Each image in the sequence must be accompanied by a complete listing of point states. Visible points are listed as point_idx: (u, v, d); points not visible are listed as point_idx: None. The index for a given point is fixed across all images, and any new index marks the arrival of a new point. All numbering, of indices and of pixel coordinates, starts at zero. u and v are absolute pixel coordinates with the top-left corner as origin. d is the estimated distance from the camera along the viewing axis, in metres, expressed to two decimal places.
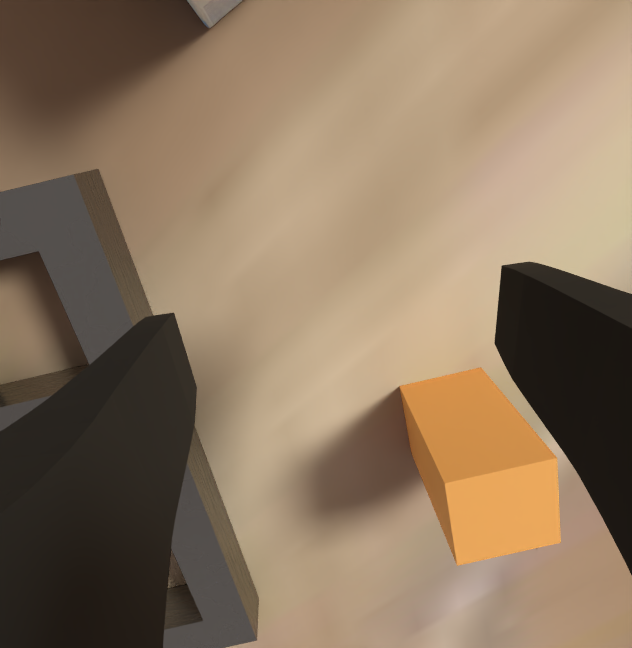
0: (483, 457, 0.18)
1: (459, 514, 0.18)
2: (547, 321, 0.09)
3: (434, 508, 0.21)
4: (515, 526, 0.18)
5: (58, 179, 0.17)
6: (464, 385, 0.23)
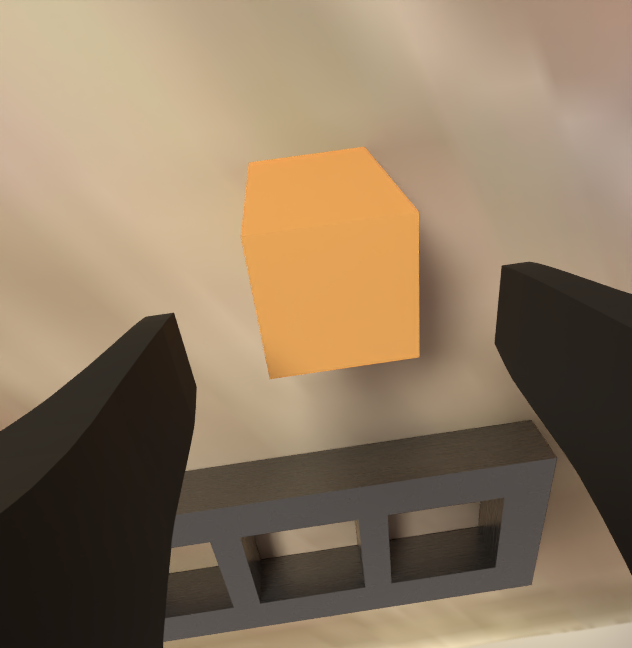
0: None
1: (325, 359, 0.13)
2: (547, 321, 0.09)
3: None
4: (365, 286, 0.12)
5: None
6: None
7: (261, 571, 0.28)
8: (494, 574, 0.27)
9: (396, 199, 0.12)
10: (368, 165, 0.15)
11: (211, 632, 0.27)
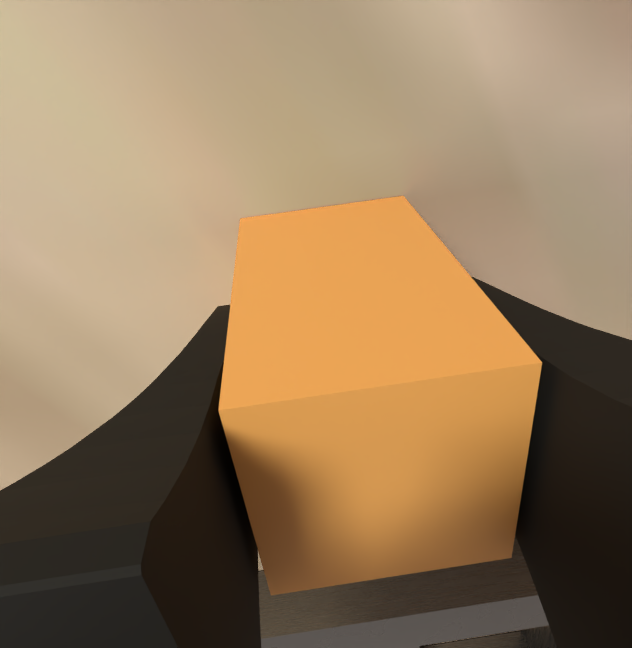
0: None
1: (362, 567, 0.08)
2: None
3: None
4: (436, 472, 0.07)
5: None
6: None
7: None
8: None
9: (487, 321, 0.07)
10: (418, 234, 0.10)
11: None
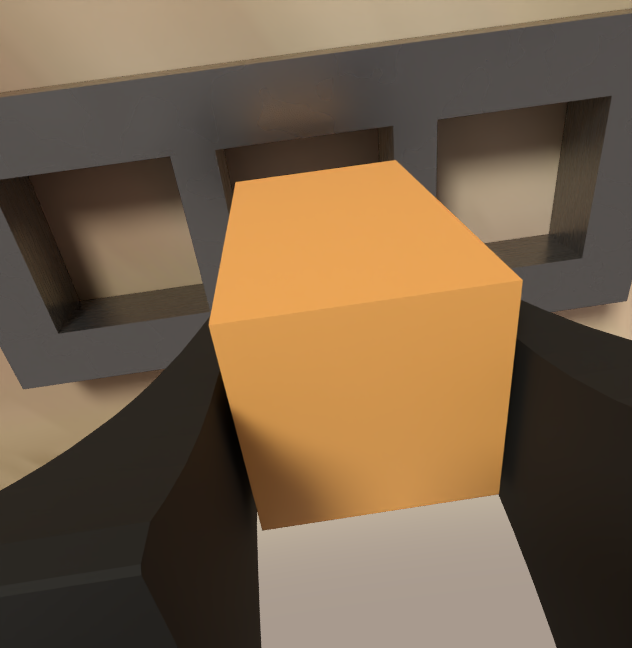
0: None
1: (351, 501, 0.08)
2: None
3: None
4: (421, 398, 0.07)
5: None
6: None
7: None
8: (579, 273, 0.19)
9: (472, 252, 0.07)
10: (408, 188, 0.10)
11: None
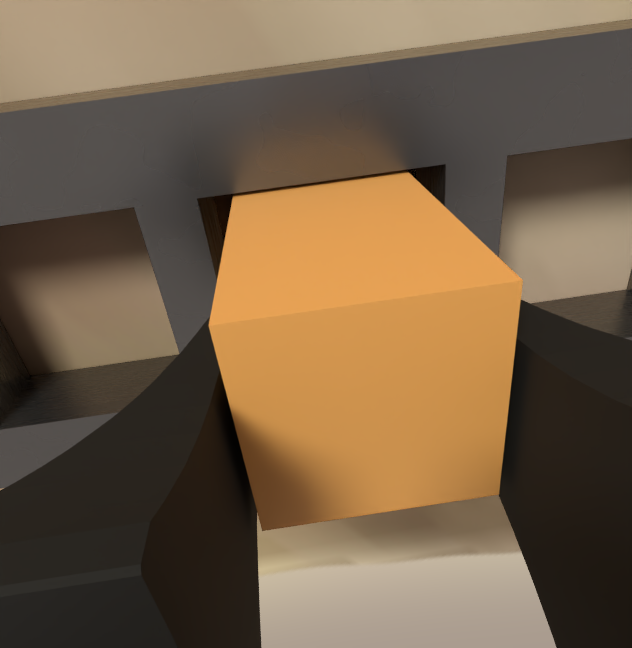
0: None
1: (352, 501, 0.08)
2: None
3: None
4: (421, 398, 0.07)
5: None
6: None
7: None
8: None
9: (472, 252, 0.07)
10: (408, 188, 0.10)
11: None
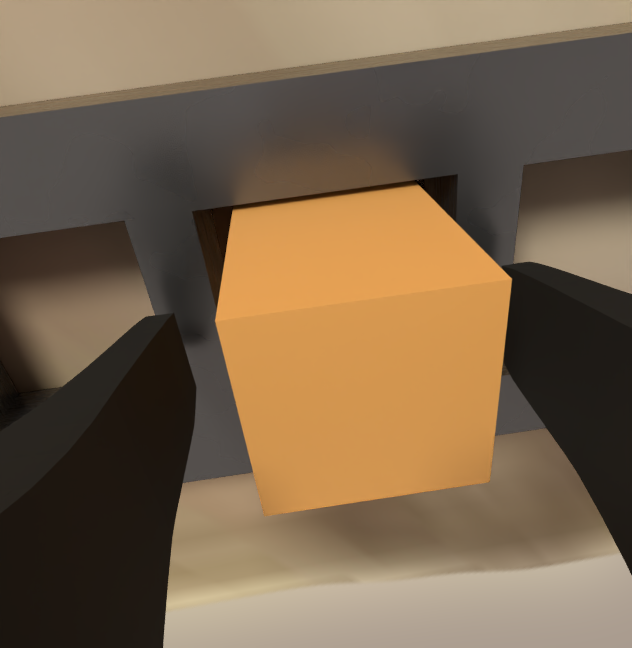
0: None
1: (349, 488, 0.08)
2: (547, 321, 0.09)
3: None
4: (416, 389, 0.07)
5: None
6: None
7: None
8: None
9: (465, 251, 0.08)
10: (405, 188, 0.10)
11: None
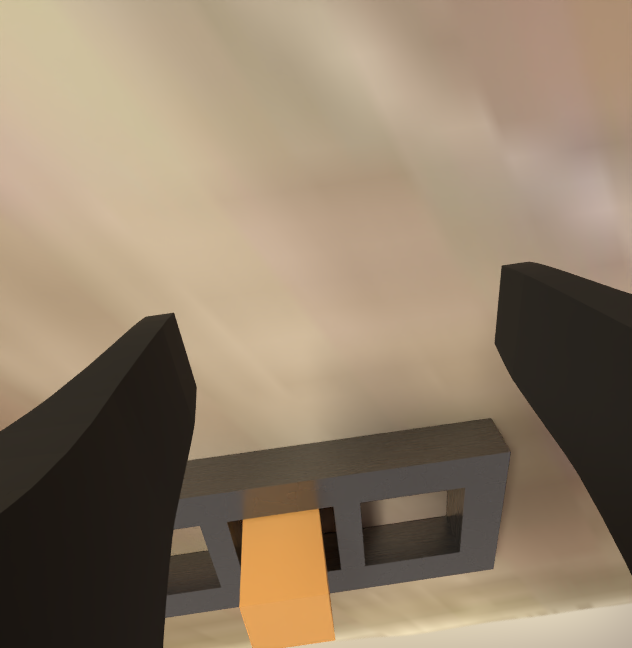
0: None
1: (284, 643, 0.24)
2: (547, 321, 0.09)
3: None
4: (303, 618, 0.23)
5: None
6: None
7: None
8: (459, 558, 0.29)
9: (320, 572, 0.23)
10: (312, 510, 0.26)
11: (200, 610, 0.30)
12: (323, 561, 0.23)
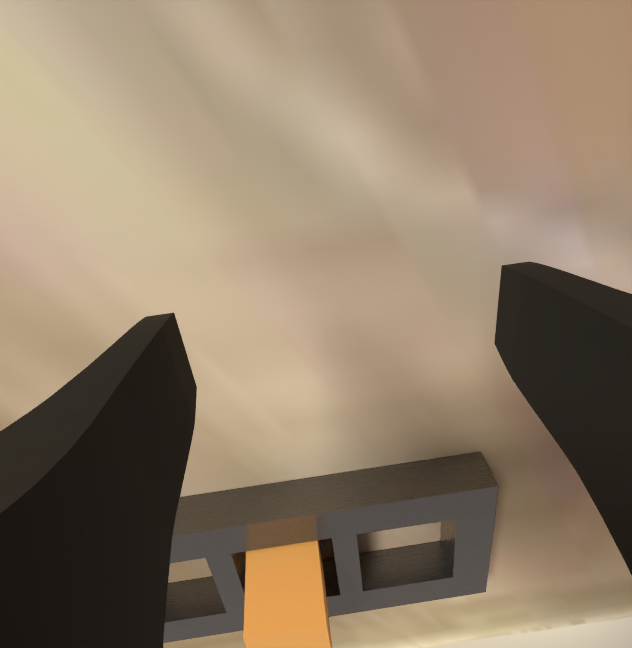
0: None
1: None
2: (547, 321, 0.09)
3: None
4: (303, 646, 0.24)
5: None
6: None
7: None
8: (452, 583, 0.31)
9: (319, 603, 0.24)
10: (312, 542, 0.27)
11: (207, 634, 0.31)
12: (322, 592, 0.25)
